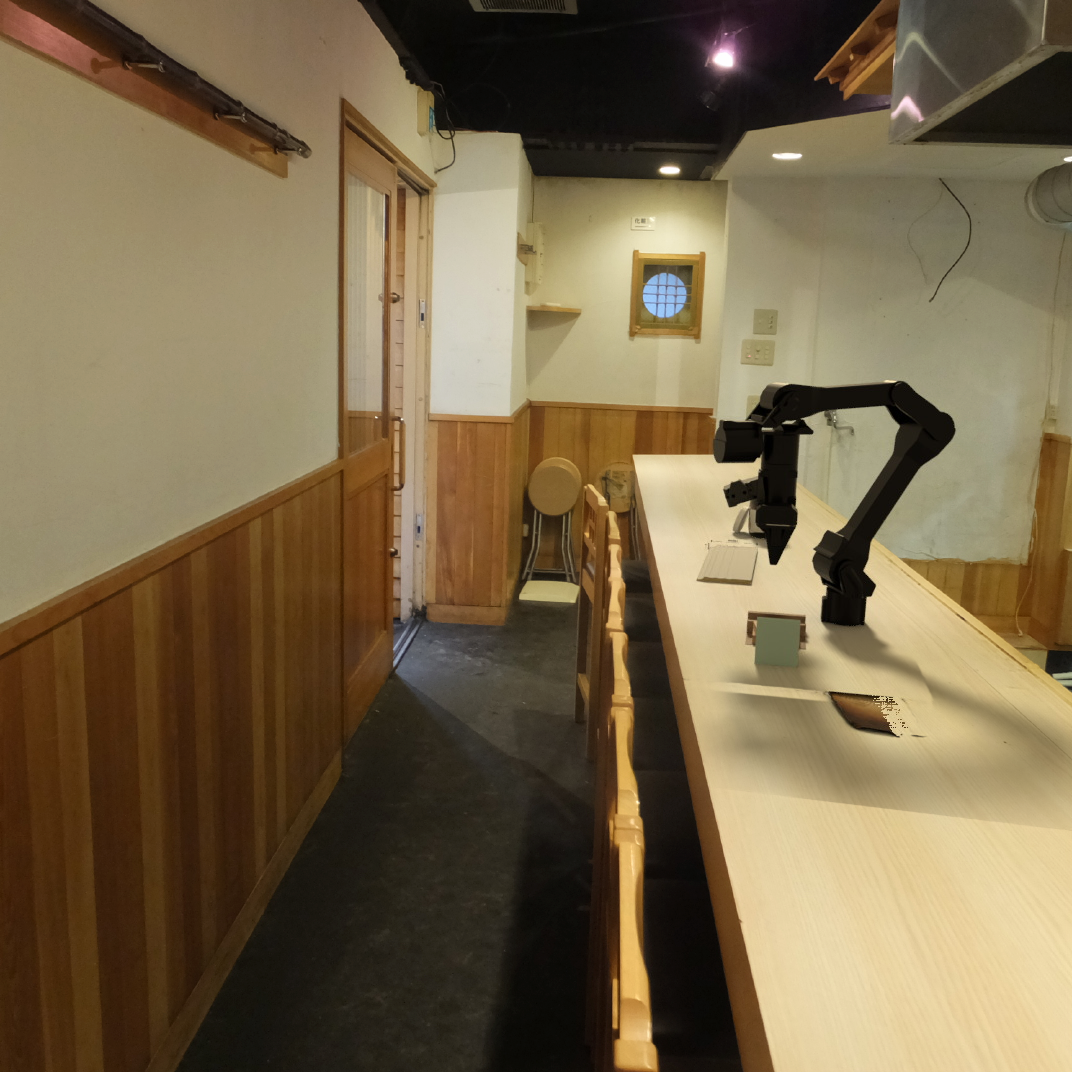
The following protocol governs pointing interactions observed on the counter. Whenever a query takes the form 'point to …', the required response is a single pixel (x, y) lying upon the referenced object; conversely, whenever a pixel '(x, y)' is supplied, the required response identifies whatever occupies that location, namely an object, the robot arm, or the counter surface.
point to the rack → (754, 614)
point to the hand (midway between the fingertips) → (773, 558)
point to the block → (777, 641)
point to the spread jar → (742, 519)
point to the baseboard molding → (728, 564)
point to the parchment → (864, 710)
